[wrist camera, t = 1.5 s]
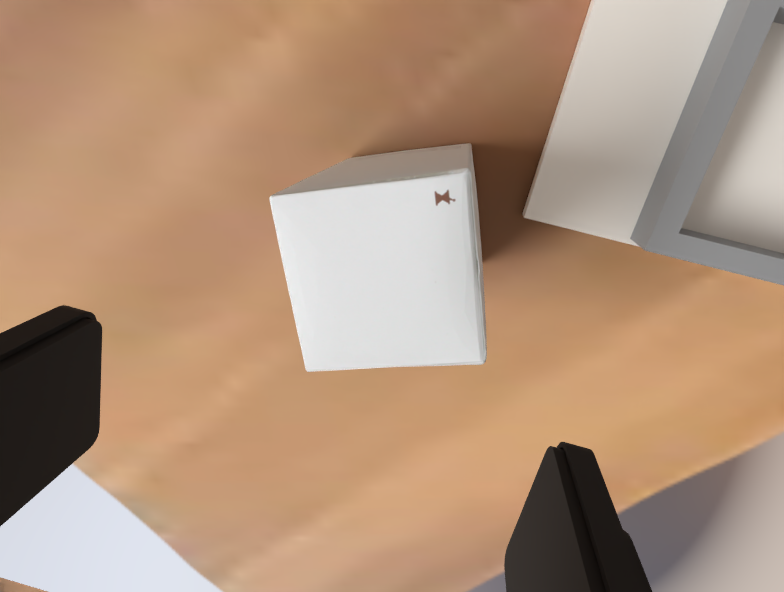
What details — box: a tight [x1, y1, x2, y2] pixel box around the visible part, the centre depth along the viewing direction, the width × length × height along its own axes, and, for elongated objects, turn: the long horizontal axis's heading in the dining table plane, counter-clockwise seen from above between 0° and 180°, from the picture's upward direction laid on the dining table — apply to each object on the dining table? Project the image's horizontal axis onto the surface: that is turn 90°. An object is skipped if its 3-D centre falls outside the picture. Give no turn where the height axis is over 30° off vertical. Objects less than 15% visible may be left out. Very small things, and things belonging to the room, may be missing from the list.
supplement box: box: [269, 143, 487, 372], centre depth 24 cm, size 7×7×13 cm
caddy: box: [522, 0, 784, 285], centre depth 25 cm, size 13×20×4 cm, turn 77°
